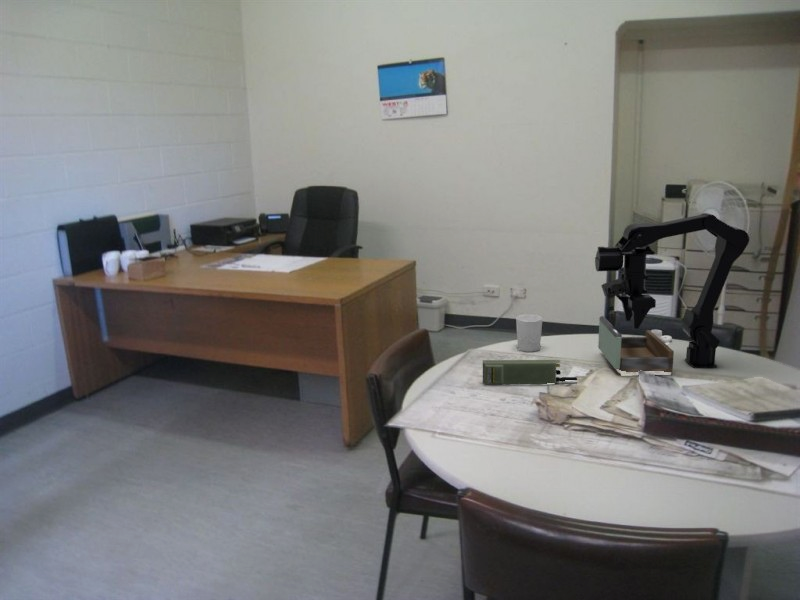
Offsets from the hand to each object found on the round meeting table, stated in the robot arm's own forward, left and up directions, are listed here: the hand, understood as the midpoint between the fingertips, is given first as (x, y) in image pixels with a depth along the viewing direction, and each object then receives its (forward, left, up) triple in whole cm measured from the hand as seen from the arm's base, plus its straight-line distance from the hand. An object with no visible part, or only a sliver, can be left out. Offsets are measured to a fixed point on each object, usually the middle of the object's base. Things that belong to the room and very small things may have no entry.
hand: (632, 324), depth 176 cm
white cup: (+27, -15, -12) cm, 33 cm away
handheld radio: (+30, +13, -12) cm, 35 cm away
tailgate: (+6, 0, -10) cm, 12 cm away
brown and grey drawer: (-2, 0, -12) cm, 12 cm away
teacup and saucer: (-16, -17, -13) cm, 26 cm away
